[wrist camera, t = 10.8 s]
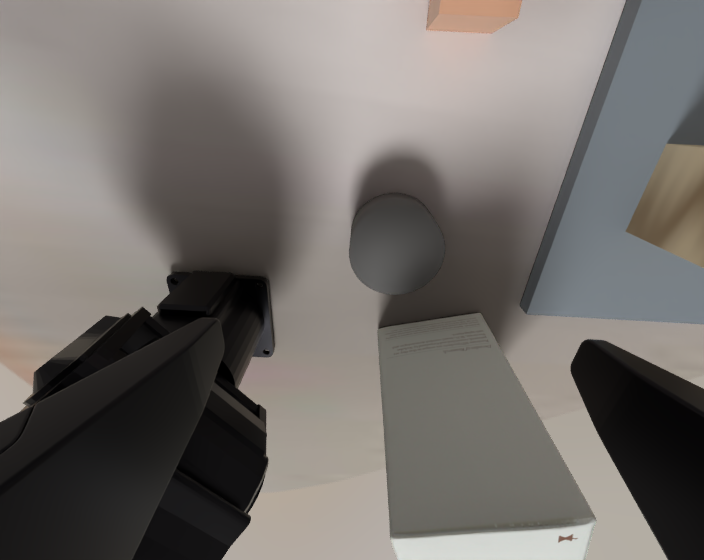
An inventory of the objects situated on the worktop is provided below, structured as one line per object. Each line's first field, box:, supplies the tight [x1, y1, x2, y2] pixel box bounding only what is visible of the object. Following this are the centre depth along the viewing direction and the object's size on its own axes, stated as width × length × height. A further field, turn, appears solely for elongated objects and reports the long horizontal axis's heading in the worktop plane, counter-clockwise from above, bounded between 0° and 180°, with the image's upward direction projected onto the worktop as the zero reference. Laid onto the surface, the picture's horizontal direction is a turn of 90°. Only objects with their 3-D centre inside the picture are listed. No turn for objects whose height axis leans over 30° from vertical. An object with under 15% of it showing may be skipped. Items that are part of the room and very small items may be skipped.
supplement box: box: [378, 313, 596, 560], centre depth 18 cm, size 7×7×13 cm
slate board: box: [520, 0, 704, 324], centre depth 17 cm, size 16×12×1 cm
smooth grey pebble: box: [349, 193, 445, 295], centre depth 18 cm, size 5×5×3 cm
